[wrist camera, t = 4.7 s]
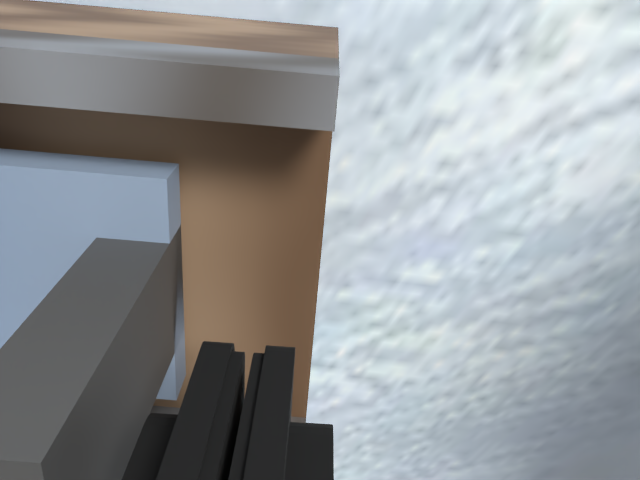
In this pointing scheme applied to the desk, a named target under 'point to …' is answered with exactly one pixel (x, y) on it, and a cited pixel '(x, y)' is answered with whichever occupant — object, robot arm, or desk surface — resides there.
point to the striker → (86, 310)
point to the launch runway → (196, 149)
